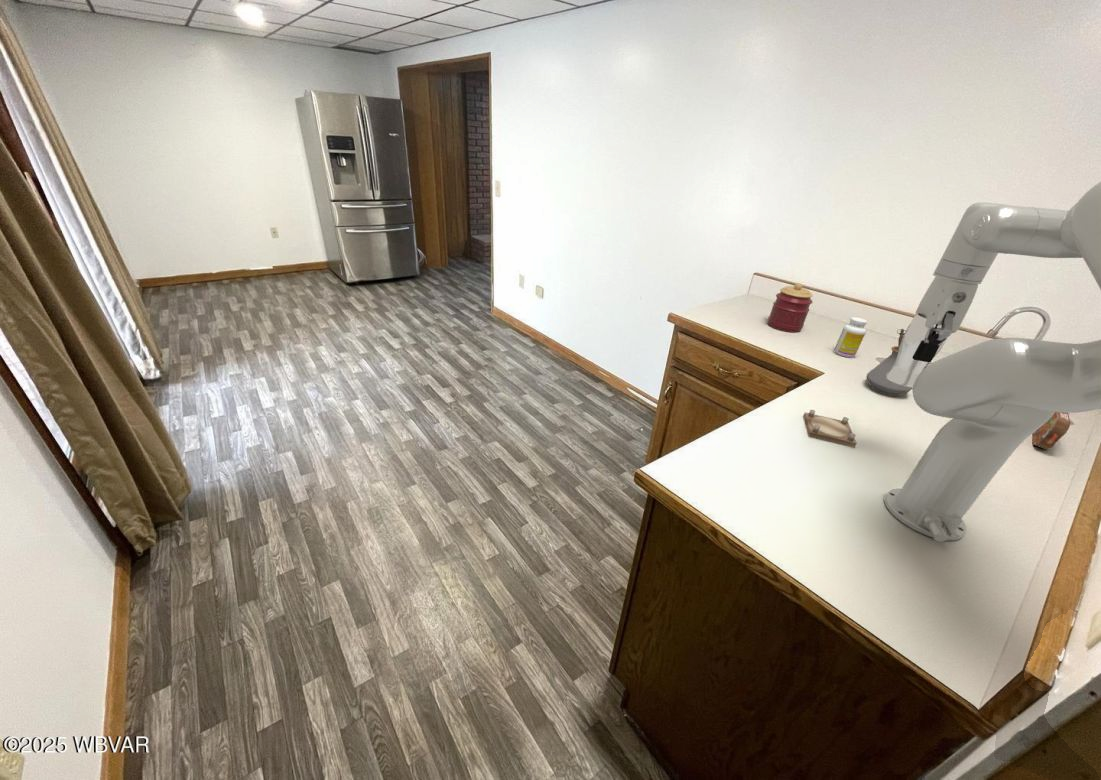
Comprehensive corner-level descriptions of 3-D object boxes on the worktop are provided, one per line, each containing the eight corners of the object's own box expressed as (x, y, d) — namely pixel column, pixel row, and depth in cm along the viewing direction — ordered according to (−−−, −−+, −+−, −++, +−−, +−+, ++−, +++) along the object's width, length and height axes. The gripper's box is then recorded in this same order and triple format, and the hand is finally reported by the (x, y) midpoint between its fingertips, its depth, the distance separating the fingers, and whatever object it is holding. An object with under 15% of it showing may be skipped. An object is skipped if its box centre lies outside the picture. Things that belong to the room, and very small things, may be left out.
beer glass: (926, 390, 93) (964, 325, 85) (891, 385, 94) (925, 320, 87) (910, 376, 99) (945, 314, 91) (877, 371, 100) (908, 309, 92)
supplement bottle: (858, 358, 149) (875, 323, 142) (839, 357, 149) (855, 322, 142) (847, 350, 155) (863, 316, 148) (829, 349, 155) (844, 315, 148)
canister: (762, 319, 179) (776, 277, 170) (794, 322, 177) (810, 280, 169) (772, 330, 167) (787, 286, 158) (806, 334, 166) (824, 290, 157)
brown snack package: (1032, 427, 116) (1052, 401, 112) (1048, 433, 114) (1069, 406, 110) (1031, 450, 106) (1053, 422, 102) (1049, 456, 104) (1072, 427, 100)
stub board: (854, 447, 102) (859, 438, 101) (808, 436, 105) (812, 427, 103) (845, 425, 110) (850, 417, 109) (803, 416, 113) (807, 407, 111)
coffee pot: (909, 403, 123) (936, 356, 115) (863, 391, 128) (886, 345, 120) (902, 375, 139) (925, 332, 132) (861, 365, 144) (881, 323, 136)
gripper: (1005, 285, 76) (951, 374, 85) (965, 265, 90) (922, 343, 99) (954, 278, 78) (907, 365, 87) (923, 260, 92) (885, 337, 101)
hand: (915, 353), depth 93 cm, fingers closed on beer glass, 6 cm apart
